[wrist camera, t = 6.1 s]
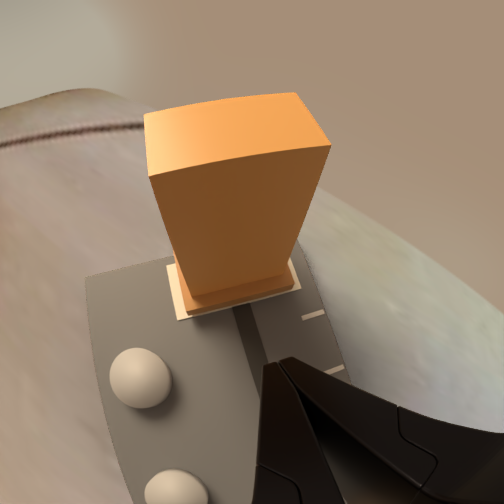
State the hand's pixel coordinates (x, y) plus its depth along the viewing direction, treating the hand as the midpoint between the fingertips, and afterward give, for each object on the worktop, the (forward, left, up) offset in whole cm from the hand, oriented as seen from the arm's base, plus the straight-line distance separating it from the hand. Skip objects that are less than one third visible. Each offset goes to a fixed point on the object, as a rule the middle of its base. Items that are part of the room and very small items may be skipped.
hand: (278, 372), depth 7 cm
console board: (+1, +2, -7) cm, 8 cm away
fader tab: (+4, -4, -6) cm, 8 cm away
